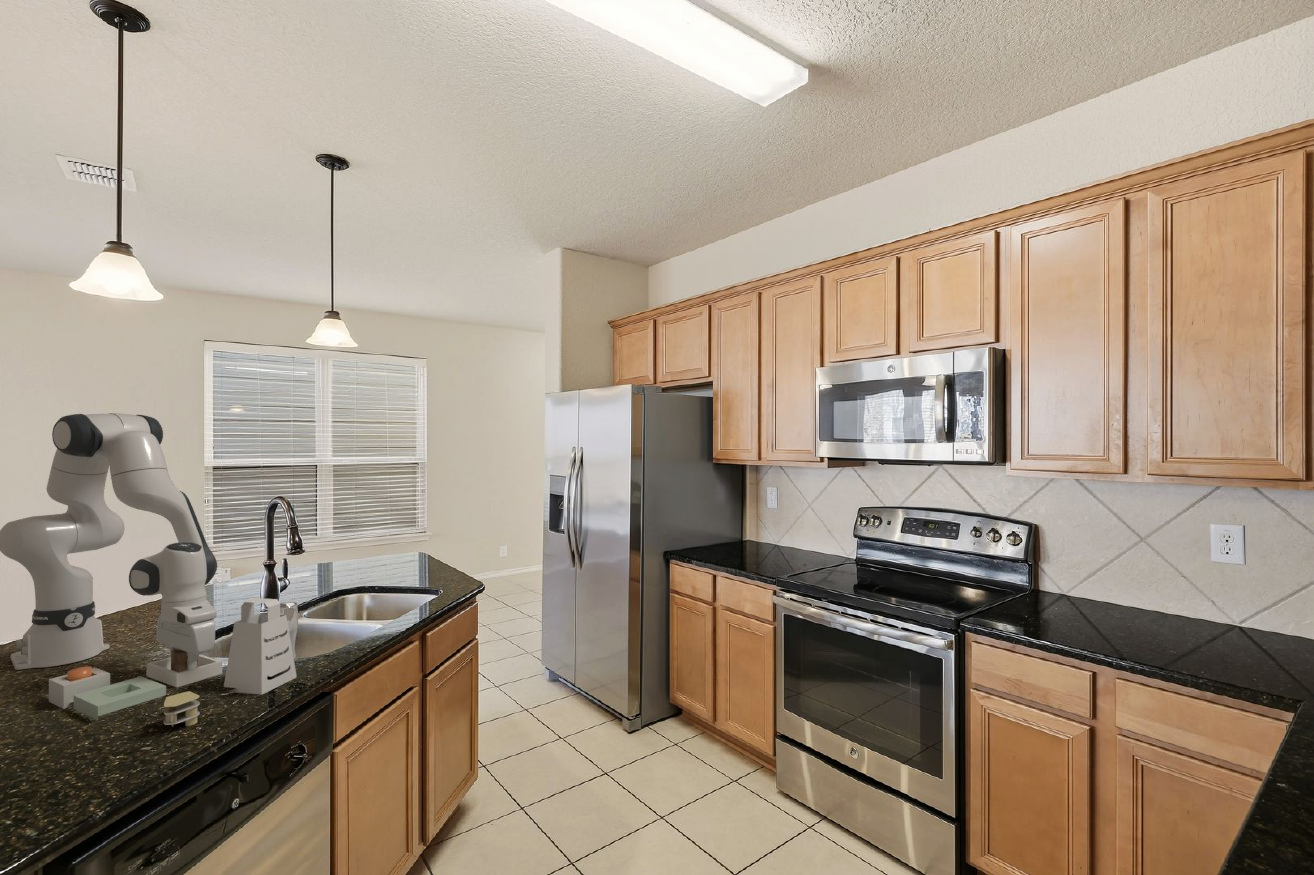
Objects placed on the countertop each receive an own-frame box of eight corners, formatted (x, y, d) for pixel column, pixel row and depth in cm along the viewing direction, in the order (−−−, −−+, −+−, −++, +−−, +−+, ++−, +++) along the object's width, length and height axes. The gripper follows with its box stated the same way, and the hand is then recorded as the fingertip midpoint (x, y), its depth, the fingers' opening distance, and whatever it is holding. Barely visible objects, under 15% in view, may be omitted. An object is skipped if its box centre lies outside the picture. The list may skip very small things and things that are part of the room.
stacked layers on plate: (146, 726, 125) (146, 699, 125) (199, 711, 132) (199, 686, 132) (158, 741, 118) (158, 713, 119) (213, 725, 125) (213, 698, 125)
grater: (260, 674, 152) (260, 594, 152) (296, 677, 150) (296, 596, 150) (222, 691, 141) (222, 605, 142) (261, 694, 140) (261, 607, 140)
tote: (146, 680, 148) (146, 663, 148) (191, 667, 157) (191, 651, 157) (176, 691, 141) (176, 674, 141) (222, 677, 150) (222, 661, 150)
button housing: (48, 701, 136) (48, 679, 136) (94, 688, 143) (94, 667, 143) (63, 708, 132) (63, 685, 132) (110, 695, 139) (110, 673, 139)
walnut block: (170, 676, 148) (170, 651, 148) (189, 670, 152) (189, 646, 152) (179, 679, 146) (179, 654, 146) (198, 673, 150) (198, 649, 150)
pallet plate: (73, 709, 132) (73, 695, 132) (140, 689, 143) (140, 676, 143) (97, 720, 127) (97, 706, 127) (166, 699, 137) (166, 685, 137)
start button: (64, 684, 137) (64, 671, 137) (87, 678, 141) (87, 665, 141) (71, 687, 135) (71, 674, 135) (95, 681, 139) (95, 668, 139)
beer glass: (304, 659, 162) (304, 602, 162) (280, 668, 156) (280, 609, 156) (285, 656, 165) (285, 600, 165) (260, 665, 158) (260, 607, 158)
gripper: (148, 607, 151) (148, 662, 151) (190, 618, 142) (190, 677, 141) (178, 601, 157) (178, 654, 157) (220, 611, 147) (220, 668, 147)
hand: (184, 666), depth 149 cm, fingers open, 5 cm apart
